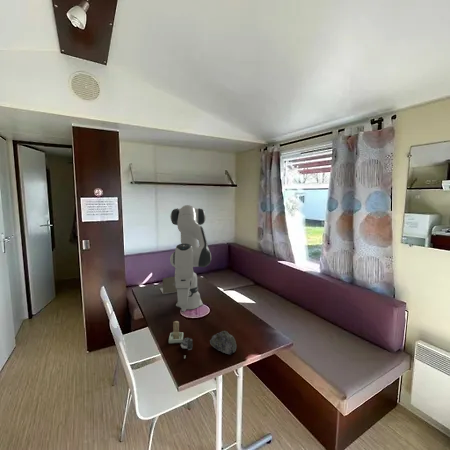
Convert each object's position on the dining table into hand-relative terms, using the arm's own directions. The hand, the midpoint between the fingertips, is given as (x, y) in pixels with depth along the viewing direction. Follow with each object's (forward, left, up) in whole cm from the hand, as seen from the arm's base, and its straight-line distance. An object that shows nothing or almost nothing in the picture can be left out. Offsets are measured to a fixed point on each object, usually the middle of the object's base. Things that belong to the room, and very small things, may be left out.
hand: (184, 306), depth 123 cm
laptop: (-87, -18, -25) cm, 92 cm away
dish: (-13, -6, -24) cm, 28 cm away
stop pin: (-13, -6, -24) cm, 28 cm away
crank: (-4, +1, -23) cm, 23 cm away
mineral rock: (-3, +19, -25) cm, 31 cm away
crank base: (-3, 0, -24) cm, 25 cm away
